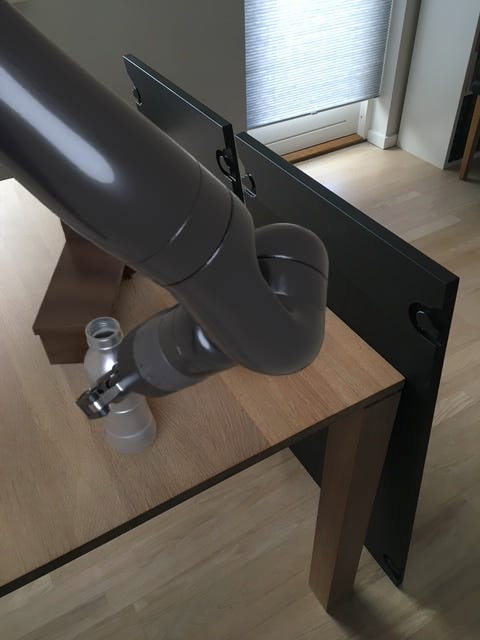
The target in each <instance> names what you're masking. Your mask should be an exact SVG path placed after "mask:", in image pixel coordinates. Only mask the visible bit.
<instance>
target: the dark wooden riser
mask: <svg viewBox="0 0 480 640" xmlns="http://www.w3.org/2000/svg"><path fill="white" fill-rule="evenodd" d="M58 219H59V222H60V225H61V228H62V231H63V235H64V239H65V242H64V245H63V247H62V250H61V252H60V254H59V258H58V260H57V262H56V265H55V268H54V271H53V273H52V275H51V278H50V280H49V283H48V286H47V289H46V291H45V293H44V296H43V298H42V301H41V304H40V305H39V308H38V311H37V314H36V316H35V319H34V321H33V324H32V327H31V329H32V332H33V334H34V336H39V339H40V341H41V344H42V347H43V349H44V351H45V355H46V357H47V359H48V362H49V364H50V365H71V364H84V358H85V355H86V353H87V351H88V349H89V348H90V347H89V346H88V342H87V336H86V333H85V329H86V326H87V325H88V324H89V323H90V322H91V321H92V320H94V319H97V318H101V317H110V318H114V314H115V310H116V305H117V301H118V297H119V292H120V287H121V284H122V280H132V279H133V276H134V275H136V274H137V272H136V271H135V270H133V269H131V268H130V267H128V266H127V265H125V264H123V263H122V262H120V261H119V260H117V259H115V258H114V257H112V256H111V255H109V254H108V253H106V252H104V251H103V250H101V249H100V248H99V247H97V246H96V245H94V244H93V243H91V242H90V241H88V240H87V239H86V238H84V237H83V236H82V235H80V234H79V233H77V232H76V231H75V230H74V229H72V228H71V227H70V226H68V225H67V224H66V223H65V222H63V221H62V220H61V219H60V218H59V217H58Z"/></svg>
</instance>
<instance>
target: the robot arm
mask: <svg viewBox="0 0 480 640" xmlns="http://www.w3.org/2000/svg"><path fill="white" fill-rule="evenodd" d="M0 168H1V169H2V170H4V171H5V172H6V173H7V174H8V175H10V176H11V178H12V179H14V180H15V181H16V182H17V183H18V184H20V185H21V186H22V187H23V188H24V189H25V190H26V191H27V192H28V193H30V195H32V196H33V197H34V199H36V200H37V201H38V202H39V203H41V204H42V205H43V206H44V207H46V208H47V209H48V210H49V211H50V212H51V213H52V214H54V215H55V216H56V217H57V218H58V219H59V218H60V219H61V220H62V221H63V222H65V223H66V224H67V225H68V226H70V227H71V228H72V229H74V230H75V231H76V232H77V233H79V234H80V235H82V236H83V237H84V238H86V239H87V240H88V241H90V242H91V243H93V244H94V245H96V246H97V247H99V248H100V249H101V250H103V251H104V252H106V253H108V254H109V255H111V256H112V257H114V258H115V259H117V260H119V261H120V262H122V263H123V264H125V265H127V266H128V267H130V268H131V269H133V270H135V271H136V273H138V274H139V275H141V276H143V277H145V278H147V279H148V280H149V281H151V282H153V283H155V284H156V285H157V286H159V287H161V288H163V289H165V290H166V291H167V292H169V294H171V296H172V297H173V298H174V299H175V300H176V302H177V303H176V304H174V305H172V306H167V307H166V308H164V309H162V310H160V311H158V312H157V313H155V314H153V315H152V316H150V317H149V318H147V319H145V321H143V322H141V323H140V324H138V325H137V326H136V327H134V328H132V329H130V330H129V331H128V332H127V333H126V334H125V335H124V338H123V340H122V342H121V344H120V346H119V350H118V356H117V362H116V363H115V364H114V365H113V366H112V368H111V369H110V370H108V371H107V372H105V373H104V374H103V375H102V376H100V377H99V378H98V379H97V384H96V385H95V386H93V387H92V386H90V387H89V388H88V389H86V390H85V391H83V392H82V393H81V394H80V396H79V397H77V398H76V401H75V402H74V403H75V405H76V406H77V407H78V408H80V410H81V411H82V413H84V414H85V416H86V418H87V419H88V420H89V421H91V420H98V419H103V417H105V416H107V415H108V414H109V412H110V408H111V406H110V405H109V404H110V403H114V404H119V403H120V402H122V401H123V400H125V399H126V398H128V397H129V396H131V395H137V394H140V395H143V396H145V398H152V399H153V398H154V399H155V398H156V399H157V398H163V397H167V396H169V395H172V394H174V393H178V392H180V391H183V390H185V389H188V388H191V387H194V386H196V385H199V384H201V383H202V382H204V381H206V380H207V379H209V378H210V377H213V376H215V375H217V374H220V373H224V372H226V371H229V370H231V369H234V368H235V367H237V366H241V367H242V368H245V369H247V370H249V371H252V372H254V373H257V374H261V375H264V376H271V377H284V376H290V375H294V374H296V373H299V372H302V371H303V370H305V369H306V368H308V367H309V366H310V365H312V364H313V362H314V361H315V360H316V359H317V358H318V356H319V354H320V353H321V350H322V347H323V343H324V337H325V326H326V314H327V313H326V312H327V301H328V287H329V276H330V261H329V254H328V251H327V249H326V246H325V244H324V243H323V241H322V240H321V239H320V237H318V235H317V234H315V232H313V231H311V230H309V229H308V228H305V227H303V226H301V225H298V224H293V223H284V222H277V223H270V224H266V225H262V226H259V227H255V223H254V219H253V217H252V214H251V213H250V211H249V209H248V208H247V206H246V205H245V203H244V202H243V201H242V200H241V199H240V198H239V197H238V196H237V194H235V193H234V192H233V191H232V190H231V189H230V188H228V186H226V185H225V184H224V183H223V182H222V181H221V180H220V179H219V178H217V177H216V176H215V175H214V174H213V173H212V172H211V171H209V169H207V168H206V167H205V166H204V165H203V164H202V163H200V161H198V159H196V158H195V157H194V156H193V155H192V154H190V152H188V150H186V149H185V148H184V147H183V146H181V145H180V144H179V143H178V142H177V141H176V140H175V139H173V138H172V137H171V136H170V135H169V134H167V133H166V132H165V131H164V130H163V129H161V128H160V127H159V126H157V124H155V123H154V122H153V121H152V120H150V119H149V118H148V117H146V116H145V115H144V114H143V113H142V112H141V111H139V110H137V109H136V108H135V107H134V106H133V105H132V104H130V103H129V102H128V101H126V100H125V99H124V98H123V97H121V96H120V95H119V94H118V93H117V92H115V91H114V90H113V89H112V88H110V87H109V86H108V85H107V84H105V83H104V82H103V81H101V79H100V78H98V77H97V76H96V75H94V74H93V73H92V72H91V71H89V70H88V69H87V68H86V67H85V66H83V65H82V64H81V63H80V62H78V60H76V59H75V58H74V57H73V56H71V55H70V54H69V53H67V51H65V50H64V49H63V48H61V47H60V45H58V44H57V43H55V41H54V40H52V38H50V37H49V36H48V35H46V34H45V32H43V31H42V30H41V29H39V28H38V27H37V26H36V25H35V24H34V23H33V22H32V21H31V20H30V19H29V18H28V17H26V16H25V15H24V14H23V13H22V12H21V11H20V10H19V9H18V8H17V7H16V6H14V5H13V3H11V2H10V1H9V0H0ZM60 219H59V220H60ZM111 375H113V376H112V377H111V379H110V376H111ZM99 389H102V390H103V391H104V393H101V392H100V390H99Z"/></svg>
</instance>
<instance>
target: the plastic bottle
mask: <svg viewBox="0 0 480 640" xmlns="http://www.w3.org/2000/svg"><path fill="white" fill-rule="evenodd" d="M85 333H86V336H87V342H88V346H89V347H90V348H89V349H88V351H87V353H86V355H85V358H84V363H83V373H84V375H85V378H86V379H87V381H88V383H89V385H90V387H93V386H95V385H96V384H97V379H98V378H99V377H100V376H102V375H103V374H104V373H105V372H107V371H108V370H110V369H111V368H112V366H113V365H114V364H115V363H116V362H117V356H118V350H119V346H120V344H121V342H122V340H123V338H124V337H125V335H124V333H123V330H122V328H121V324H120V323H119V321H118V319H115V318H114V317H113V318H110V317H101V318H97V319H94V320H92V321H91V322H90V323H89V324H88V325H87V326H86V329H85ZM112 376H113V375H111V376H110V379H111V377H112ZM99 390H100V392H101V393H104V391H103V390H102V389H99ZM109 405H110V406H111V408H110V412H109V414H108V415H107V416H105V417H102V419H103V427H102V428H103V435H104V438H105V439H104V440H106V442H107V444H108V446H109V447H110V448H111V449H112V450H113V451H114V452H115V453H118V454H120V455H123V456H137V455H139V454H142V453H144V452H145V451H147V450H148V449H149V448H150V447H151V446H152V445H153V443H154V441H155V440H156V437H157V422H156V419H155V417H154V414H153V413H152V411H151V409H150V408H149V405H148V402H147V400H146V396H143V395H140V394H137V395H131V396H129V397H128V398H126V399H125V400H123V401H122V402H120V403H119V404H114V403H110V404H109Z"/></svg>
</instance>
